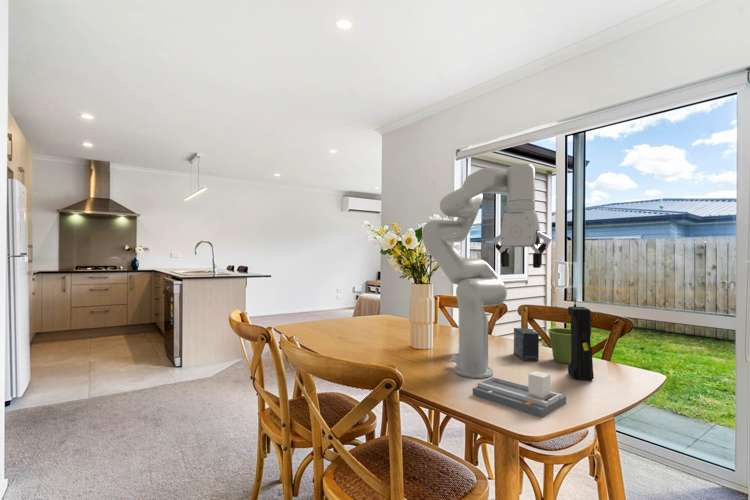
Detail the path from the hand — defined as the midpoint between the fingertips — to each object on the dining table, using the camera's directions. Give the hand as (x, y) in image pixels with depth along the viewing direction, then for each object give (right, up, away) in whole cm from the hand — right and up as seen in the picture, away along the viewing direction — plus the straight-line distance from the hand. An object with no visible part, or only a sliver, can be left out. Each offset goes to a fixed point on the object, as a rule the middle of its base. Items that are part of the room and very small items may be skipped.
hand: (520, 267), depth 113 cm
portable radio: (+25, -37, +14) cm, 46 cm away
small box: (+16, -37, +38) cm, 56 cm away
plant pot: (+29, -37, +33) cm, 57 cm away
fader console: (-3, -36, -5) cm, 37 cm away
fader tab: (+1, -34, -10) cm, 35 cm away
